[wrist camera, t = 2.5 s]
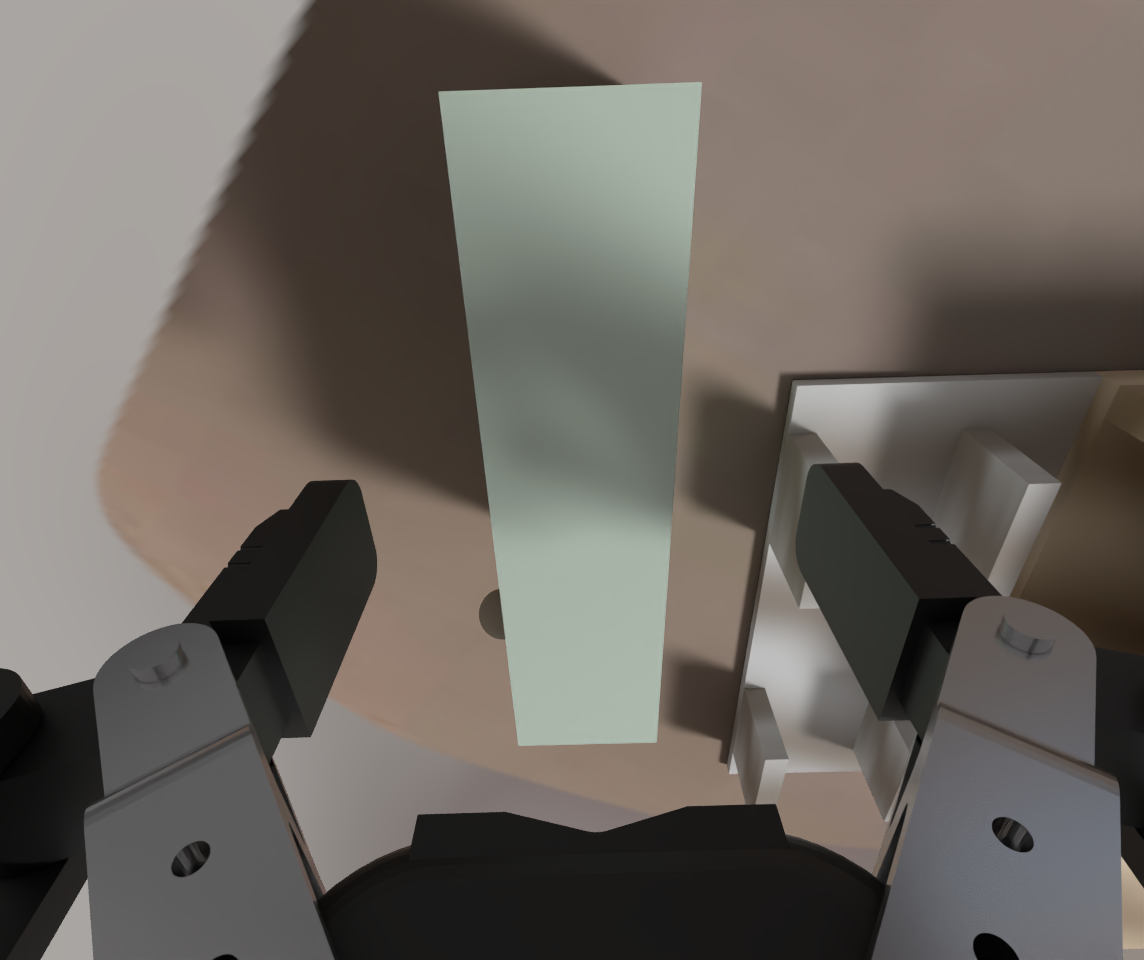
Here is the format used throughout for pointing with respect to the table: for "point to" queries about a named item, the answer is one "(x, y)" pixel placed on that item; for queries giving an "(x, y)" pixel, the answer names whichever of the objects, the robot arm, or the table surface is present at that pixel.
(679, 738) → the table surface
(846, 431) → the cabinet
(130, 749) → the robot arm
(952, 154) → the table surface
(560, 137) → the door
